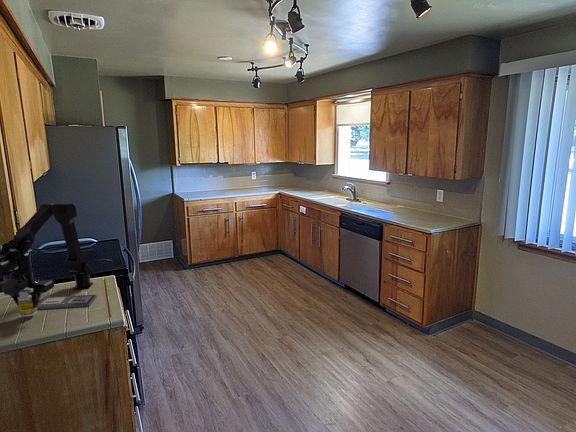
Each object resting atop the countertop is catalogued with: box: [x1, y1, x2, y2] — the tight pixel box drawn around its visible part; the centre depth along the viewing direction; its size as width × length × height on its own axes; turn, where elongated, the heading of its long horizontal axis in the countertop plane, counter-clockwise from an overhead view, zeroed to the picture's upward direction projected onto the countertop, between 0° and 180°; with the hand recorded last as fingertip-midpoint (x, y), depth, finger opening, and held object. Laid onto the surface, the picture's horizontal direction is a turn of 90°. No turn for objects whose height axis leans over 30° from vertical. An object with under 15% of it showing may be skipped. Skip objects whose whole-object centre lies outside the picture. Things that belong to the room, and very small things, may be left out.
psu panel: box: [37, 294, 98, 310], centre depth 154 cm, size 9×20×2 cm, turn 98°
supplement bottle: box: [18, 288, 38, 317], centre depth 142 cm, size 5×5×10 cm
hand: (28, 307), depth 142 cm, fingers closed on supplement bottle, 5 cm apart
